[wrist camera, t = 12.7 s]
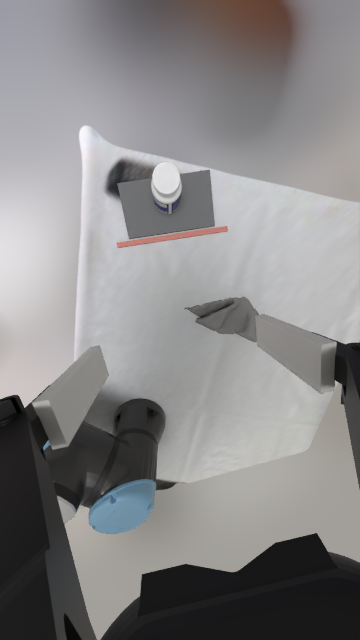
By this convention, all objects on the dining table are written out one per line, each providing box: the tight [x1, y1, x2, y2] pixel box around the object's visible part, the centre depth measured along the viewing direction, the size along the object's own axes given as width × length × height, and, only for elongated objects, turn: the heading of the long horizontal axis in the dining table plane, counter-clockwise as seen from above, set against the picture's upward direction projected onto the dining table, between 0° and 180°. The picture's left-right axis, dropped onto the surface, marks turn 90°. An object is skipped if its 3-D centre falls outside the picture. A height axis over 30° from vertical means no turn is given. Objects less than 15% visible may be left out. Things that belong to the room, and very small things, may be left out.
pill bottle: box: [151, 162, 182, 214], centre depth 35 cm, size 6×6×10 cm
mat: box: [118, 170, 215, 239], centre depth 40 cm, size 20×11×1 cm, turn 99°
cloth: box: [185, 297, 259, 342], centre depth 48 cm, size 26×14×2 cm, turn 59°
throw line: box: [117, 226, 228, 248], centre depth 42 cm, size 26×1×1 cm, turn 99°
